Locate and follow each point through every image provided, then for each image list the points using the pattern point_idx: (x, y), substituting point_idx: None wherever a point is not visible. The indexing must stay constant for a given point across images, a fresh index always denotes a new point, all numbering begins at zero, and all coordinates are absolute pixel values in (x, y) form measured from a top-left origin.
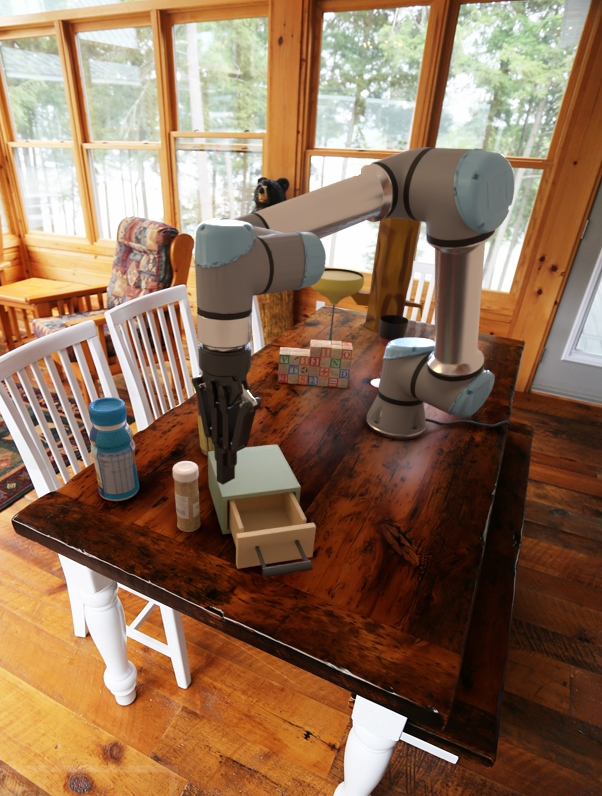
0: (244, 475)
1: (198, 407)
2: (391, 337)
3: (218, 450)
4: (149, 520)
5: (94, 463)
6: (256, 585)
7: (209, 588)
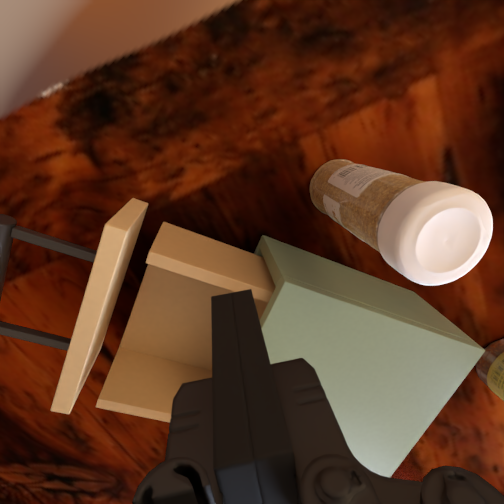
0: (328, 376)
1: None
2: None
3: (262, 442)
4: (414, 114)
5: None
6: (79, 208)
7: (122, 111)
